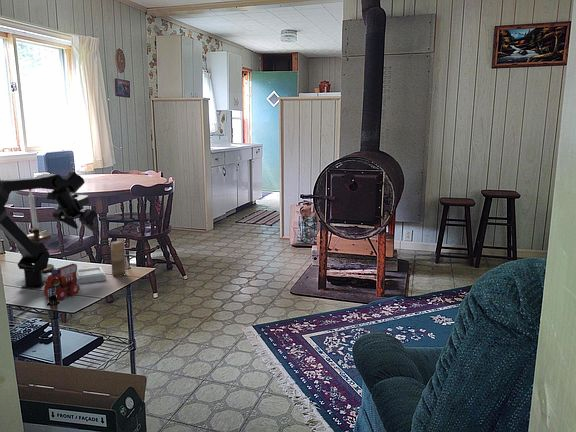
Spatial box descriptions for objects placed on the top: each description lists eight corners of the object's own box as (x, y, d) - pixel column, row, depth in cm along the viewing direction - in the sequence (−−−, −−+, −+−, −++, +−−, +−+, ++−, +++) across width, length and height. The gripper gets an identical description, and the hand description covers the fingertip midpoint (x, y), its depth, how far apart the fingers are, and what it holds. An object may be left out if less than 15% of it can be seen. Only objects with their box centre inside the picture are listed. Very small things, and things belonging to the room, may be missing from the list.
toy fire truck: (39, 299, 157) (36, 270, 155) (70, 288, 168) (68, 261, 166) (52, 303, 154) (50, 273, 152) (84, 292, 165) (82, 263, 163)
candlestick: (62, 265, 193) (50, 181, 185) (46, 274, 182) (33, 186, 174) (37, 265, 194) (25, 181, 186) (20, 274, 183) (6, 186, 176)
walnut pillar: (123, 276, 183) (122, 244, 180) (110, 276, 182) (108, 244, 180) (127, 272, 187) (125, 241, 185) (114, 272, 187) (112, 241, 185)
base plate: (77, 283, 173) (76, 276, 173) (75, 276, 182) (74, 269, 181) (105, 280, 178) (105, 273, 177) (102, 272, 186) (101, 266, 186)
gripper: (96, 189, 181) (114, 218, 191) (61, 185, 189) (81, 214, 199) (77, 208, 174) (97, 237, 184) (42, 204, 181) (63, 232, 192)
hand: (85, 229), depth 190 cm, fingers open, 9 cm apart
